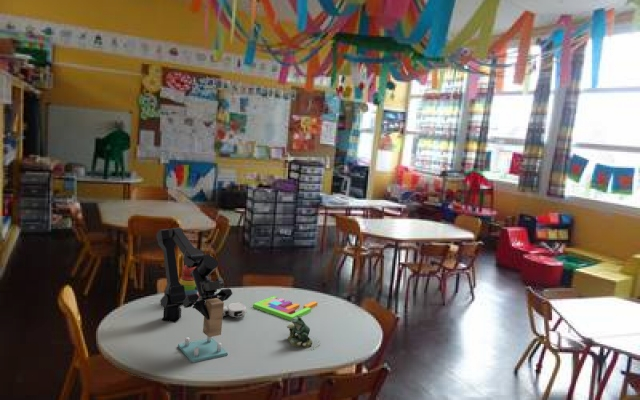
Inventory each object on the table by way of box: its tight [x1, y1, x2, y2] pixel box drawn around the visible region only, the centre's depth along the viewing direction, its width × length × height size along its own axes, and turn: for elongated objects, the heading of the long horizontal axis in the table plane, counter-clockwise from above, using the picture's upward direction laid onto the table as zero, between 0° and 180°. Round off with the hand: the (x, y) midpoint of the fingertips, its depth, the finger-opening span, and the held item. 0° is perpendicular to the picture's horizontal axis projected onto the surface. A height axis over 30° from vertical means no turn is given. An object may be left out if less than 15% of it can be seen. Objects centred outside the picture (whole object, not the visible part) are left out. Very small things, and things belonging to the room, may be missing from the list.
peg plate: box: [177, 335, 229, 364], centre depth 192 cm, size 14×14×4 cm
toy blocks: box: [252, 295, 319, 322], centre depth 245 cm, size 23×2×25 cm
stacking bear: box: [179, 264, 199, 297], centre depth 241 cm, size 11×10×18 cm
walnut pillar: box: [202, 298, 225, 338], centre depth 192 cm, size 5×5×13 cm
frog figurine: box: [286, 315, 321, 351], centre depth 207 cm, size 18×18×12 cm
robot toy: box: [223, 301, 247, 319], centre depth 228 cm, size 12×4×15 cm
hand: (215, 318), depth 191 cm, fingers closed on walnut pillar, 5 cm apart
